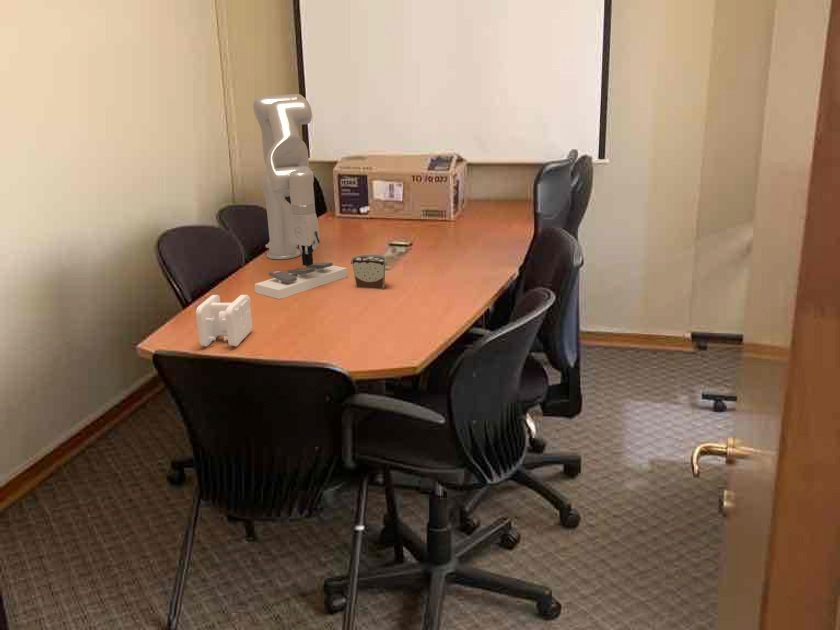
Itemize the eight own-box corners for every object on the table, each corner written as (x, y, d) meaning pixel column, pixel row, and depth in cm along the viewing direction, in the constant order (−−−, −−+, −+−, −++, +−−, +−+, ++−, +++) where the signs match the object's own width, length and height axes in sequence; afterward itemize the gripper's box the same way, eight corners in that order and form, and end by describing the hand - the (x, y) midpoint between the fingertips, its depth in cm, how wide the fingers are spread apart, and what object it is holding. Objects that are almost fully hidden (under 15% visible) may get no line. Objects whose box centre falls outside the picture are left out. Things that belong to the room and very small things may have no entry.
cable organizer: (219, 330, 249) (214, 291, 246) (255, 331, 248) (250, 292, 244) (199, 349, 235) (194, 308, 231) (237, 350, 234) (232, 309, 230)
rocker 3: (306, 267, 296) (305, 264, 295) (315, 265, 298) (314, 261, 298) (324, 268, 290) (323, 264, 289) (332, 265, 292) (332, 262, 292)
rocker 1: (268, 275, 284) (268, 272, 284) (278, 272, 287) (278, 269, 286) (287, 283, 279) (287, 280, 278) (296, 280, 282) (296, 277, 281)
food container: (394, 284, 286) (392, 254, 283) (387, 290, 280) (385, 259, 277) (359, 282, 290) (357, 253, 287) (352, 287, 284) (350, 258, 281)
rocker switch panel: (255, 292, 283) (254, 281, 282) (323, 271, 304) (322, 260, 303) (279, 299, 275) (278, 287, 274) (347, 276, 297) (346, 265, 295)
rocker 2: (288, 273, 290) (287, 270, 290) (297, 270, 293) (296, 267, 293) (306, 273, 284) (305, 270, 284) (315, 270, 287) (314, 267, 287)
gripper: (279, 209, 281) (284, 264, 287) (310, 214, 272) (315, 270, 278) (296, 205, 287) (301, 259, 293) (327, 209, 277) (332, 265, 283)
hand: (307, 264), depth 285 cm, fingers closed
